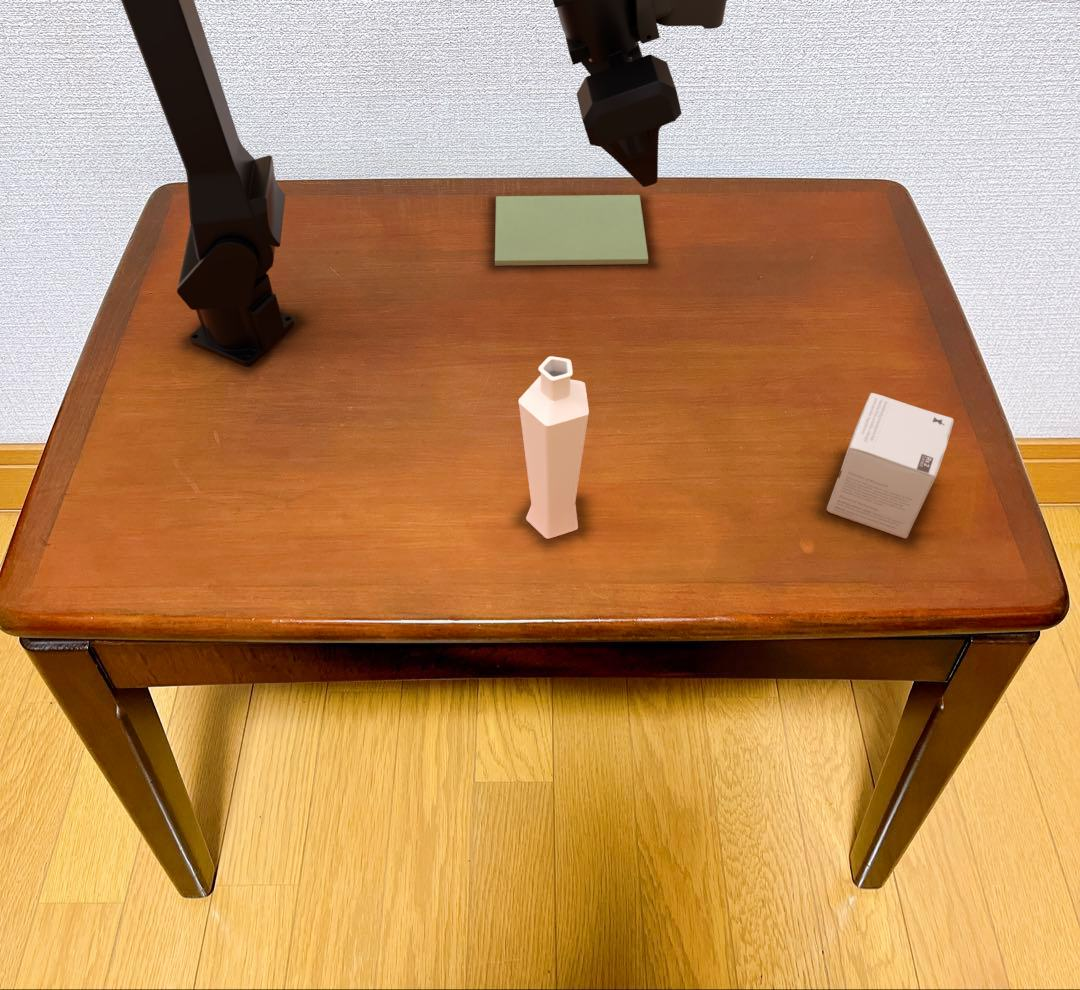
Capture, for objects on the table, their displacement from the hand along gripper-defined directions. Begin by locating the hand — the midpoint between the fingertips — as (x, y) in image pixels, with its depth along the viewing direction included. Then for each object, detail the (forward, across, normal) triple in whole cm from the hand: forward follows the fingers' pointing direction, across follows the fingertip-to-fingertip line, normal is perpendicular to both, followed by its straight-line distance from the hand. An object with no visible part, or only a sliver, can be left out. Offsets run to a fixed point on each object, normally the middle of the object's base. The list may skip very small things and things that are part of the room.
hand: (640, 149), depth 77 cm
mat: (+14, +12, +8) cm, 20 cm away
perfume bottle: (+12, -23, +13) cm, 29 cm away
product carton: (+20, -23, -10) cm, 32 cm away
